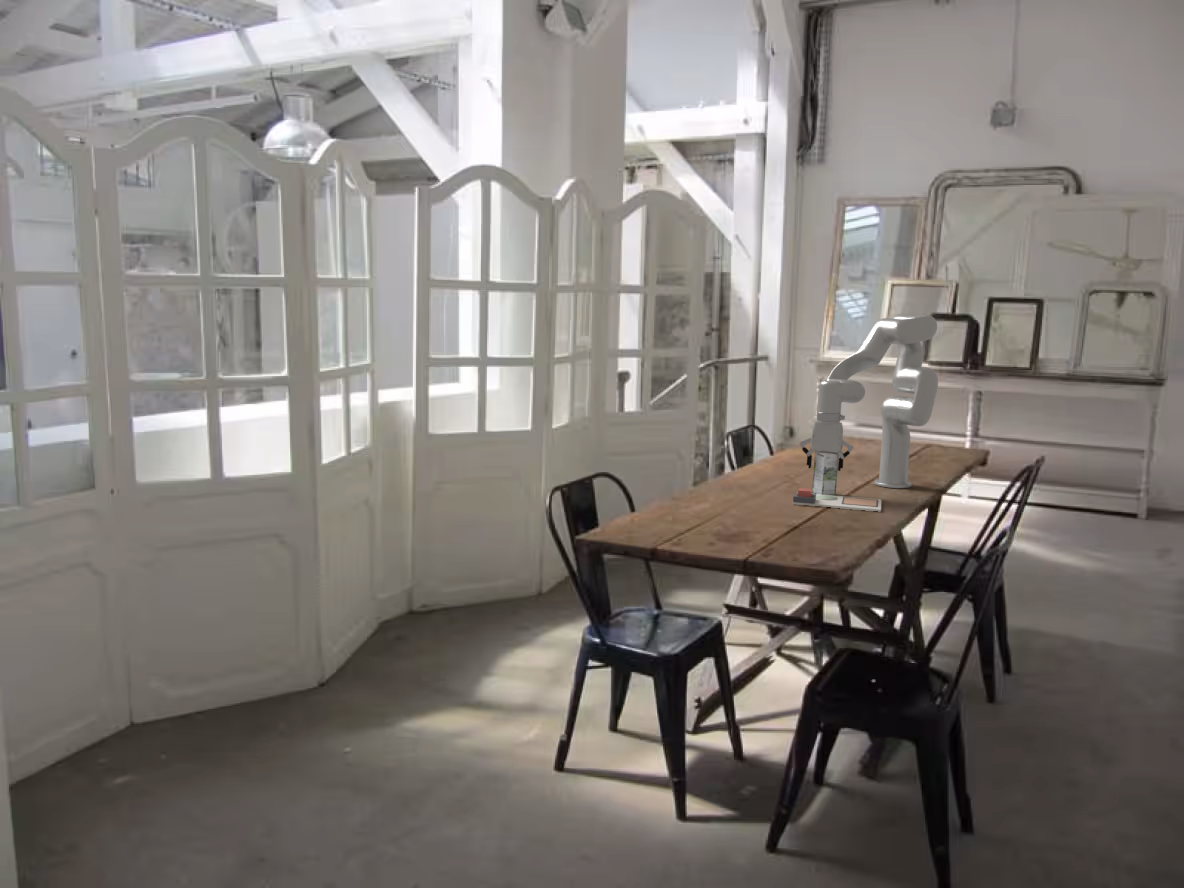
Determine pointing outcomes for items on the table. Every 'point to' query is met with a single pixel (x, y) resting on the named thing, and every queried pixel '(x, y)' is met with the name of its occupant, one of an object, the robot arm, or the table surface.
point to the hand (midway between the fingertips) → (824, 468)
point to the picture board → (839, 502)
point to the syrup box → (825, 473)
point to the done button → (805, 492)
